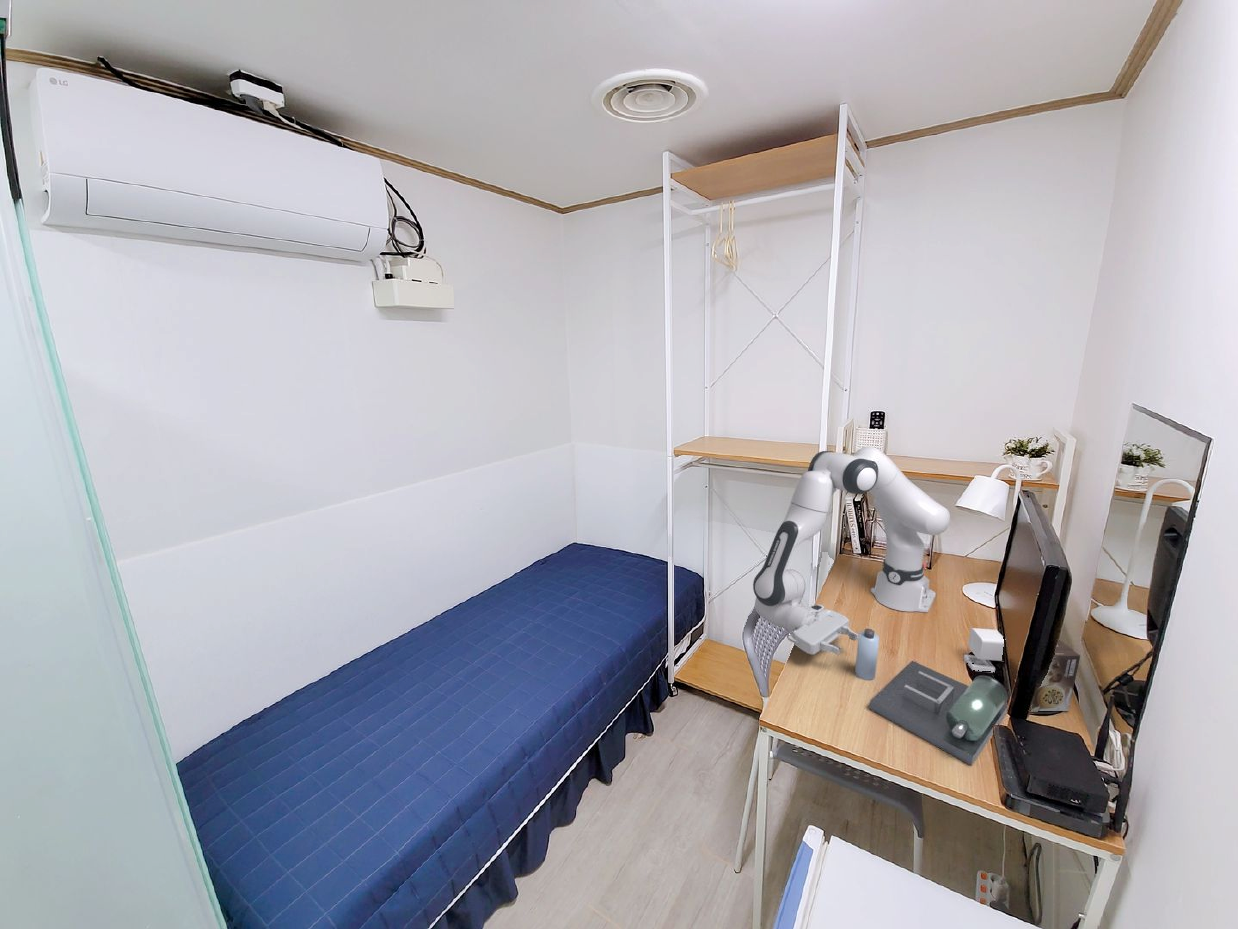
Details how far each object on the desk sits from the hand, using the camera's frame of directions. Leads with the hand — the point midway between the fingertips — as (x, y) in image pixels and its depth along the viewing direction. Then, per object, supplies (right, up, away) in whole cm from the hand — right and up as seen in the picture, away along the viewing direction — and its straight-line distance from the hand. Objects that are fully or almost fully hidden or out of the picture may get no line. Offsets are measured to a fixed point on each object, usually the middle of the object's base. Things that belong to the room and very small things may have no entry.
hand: (848, 644), depth 139 cm
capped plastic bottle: (+3, -7, -3) cm, 8 cm away
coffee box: (+41, -10, -15) cm, 45 cm away
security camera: (+37, -6, 0) cm, 38 cm away
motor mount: (+15, -11, -16) cm, 24 cm away
